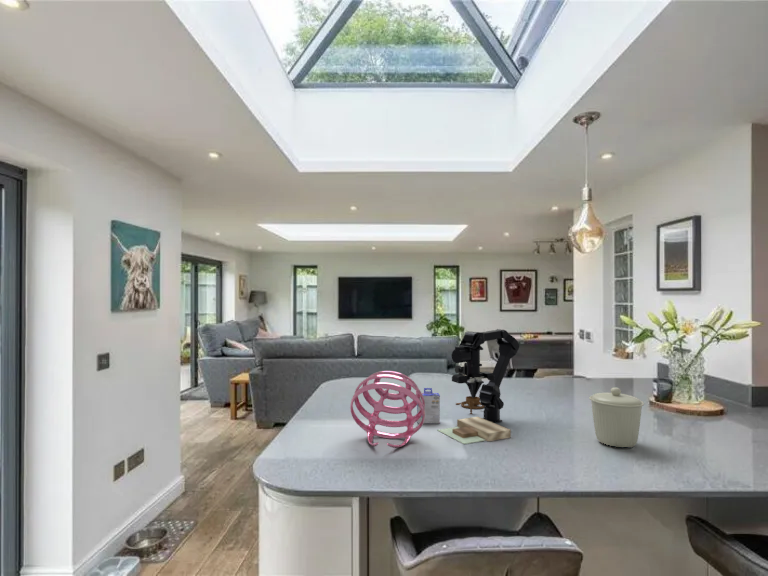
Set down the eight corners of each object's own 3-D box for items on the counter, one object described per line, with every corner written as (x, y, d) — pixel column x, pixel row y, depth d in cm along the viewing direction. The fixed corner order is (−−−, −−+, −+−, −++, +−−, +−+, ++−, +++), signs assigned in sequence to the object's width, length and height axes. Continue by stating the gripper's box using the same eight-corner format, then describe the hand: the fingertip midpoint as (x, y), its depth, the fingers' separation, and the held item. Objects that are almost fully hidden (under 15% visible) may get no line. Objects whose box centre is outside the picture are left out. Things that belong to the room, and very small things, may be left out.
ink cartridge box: (438, 420, 187) (438, 387, 187) (440, 424, 181) (440, 390, 182) (416, 420, 187) (416, 387, 187) (417, 423, 181) (417, 390, 182)
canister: (624, 455, 146) (624, 394, 147) (579, 440, 162) (578, 385, 163) (655, 447, 154) (654, 390, 155) (609, 433, 170) (608, 381, 171)
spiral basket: (405, 405, 134) (413, 349, 157) (329, 418, 144) (347, 363, 166) (433, 460, 147) (437, 401, 170) (361, 468, 156) (374, 411, 179)
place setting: (494, 408, 210) (494, 396, 210) (473, 416, 196) (473, 403, 196) (465, 402, 222) (465, 391, 223) (442, 409, 208) (442, 397, 208)
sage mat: (457, 427, 176) (457, 426, 176) (485, 440, 160) (485, 439, 160) (437, 430, 172) (437, 429, 172) (464, 444, 156) (464, 443, 156)
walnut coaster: (466, 430, 171) (466, 426, 171) (477, 435, 165) (477, 431, 165) (452, 432, 168) (452, 429, 169) (462, 438, 162) (462, 434, 162)
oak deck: (478, 423, 182) (478, 416, 182) (510, 437, 164) (510, 429, 164) (457, 426, 178) (457, 419, 178) (488, 441, 160) (488, 433, 160)
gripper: (478, 357, 192) (478, 391, 191) (444, 359, 183) (444, 395, 183) (494, 360, 182) (495, 396, 181) (459, 363, 173) (459, 401, 173)
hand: (473, 397), depth 180 cm, fingers closed
